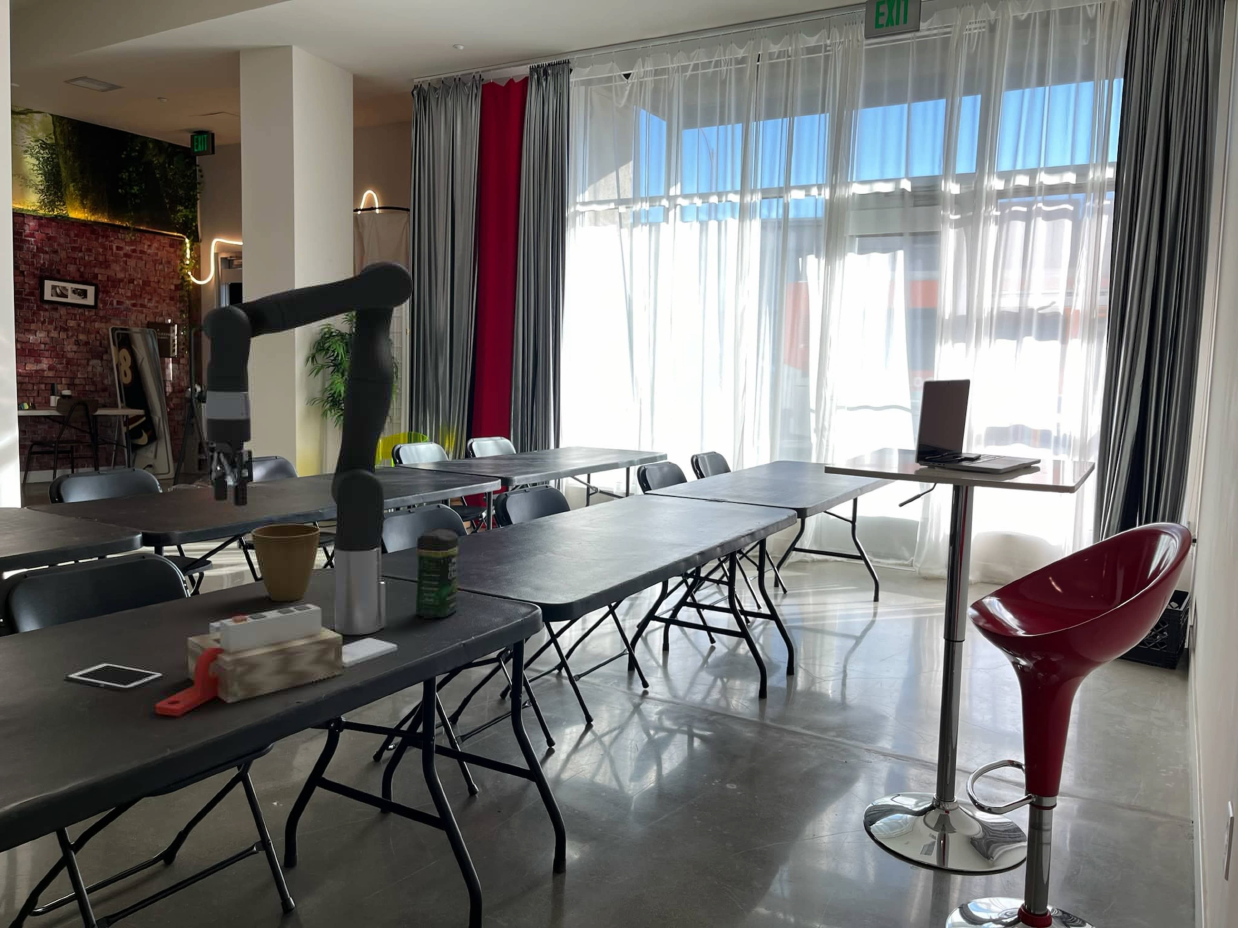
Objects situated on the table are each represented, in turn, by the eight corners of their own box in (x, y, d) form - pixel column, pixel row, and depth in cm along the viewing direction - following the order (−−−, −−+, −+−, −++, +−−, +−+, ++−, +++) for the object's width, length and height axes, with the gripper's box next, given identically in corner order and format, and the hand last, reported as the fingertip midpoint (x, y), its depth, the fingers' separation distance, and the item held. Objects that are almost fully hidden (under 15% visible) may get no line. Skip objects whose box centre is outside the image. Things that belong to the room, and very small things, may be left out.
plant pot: (240, 597, 204) (239, 529, 203) (299, 586, 216) (299, 521, 214) (273, 609, 195) (272, 538, 193) (333, 597, 206) (332, 530, 204)
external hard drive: (397, 652, 170) (345, 670, 159) (367, 645, 174) (315, 661, 163) (397, 644, 169) (345, 661, 159) (367, 637, 174) (315, 652, 163)
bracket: (204, 686, 147) (203, 640, 147) (228, 689, 146) (227, 642, 146) (152, 712, 136) (150, 663, 135) (178, 716, 135) (176, 665, 134)
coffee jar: (444, 620, 190) (444, 535, 188) (410, 617, 191) (410, 533, 190) (463, 609, 199) (463, 528, 197) (431, 606, 201) (431, 525, 199)
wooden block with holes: (298, 652, 166) (298, 616, 166) (342, 673, 155) (342, 635, 155) (188, 677, 152) (187, 637, 151) (228, 702, 141) (227, 660, 140)
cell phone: (104, 667, 157) (104, 661, 157) (166, 679, 152) (166, 673, 152) (63, 681, 150) (63, 675, 150) (128, 694, 145) (127, 688, 144)
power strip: (310, 649, 159) (310, 601, 158) (321, 655, 156) (321, 605, 155) (220, 670, 147) (219, 617, 146) (231, 676, 144) (229, 622, 144)
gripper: (265, 417, 161) (267, 505, 162) (232, 413, 170) (234, 496, 172) (224, 418, 155) (226, 509, 157) (192, 414, 165) (194, 500, 166)
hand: (230, 502), depth 164 cm, fingers open, 8 cm apart
